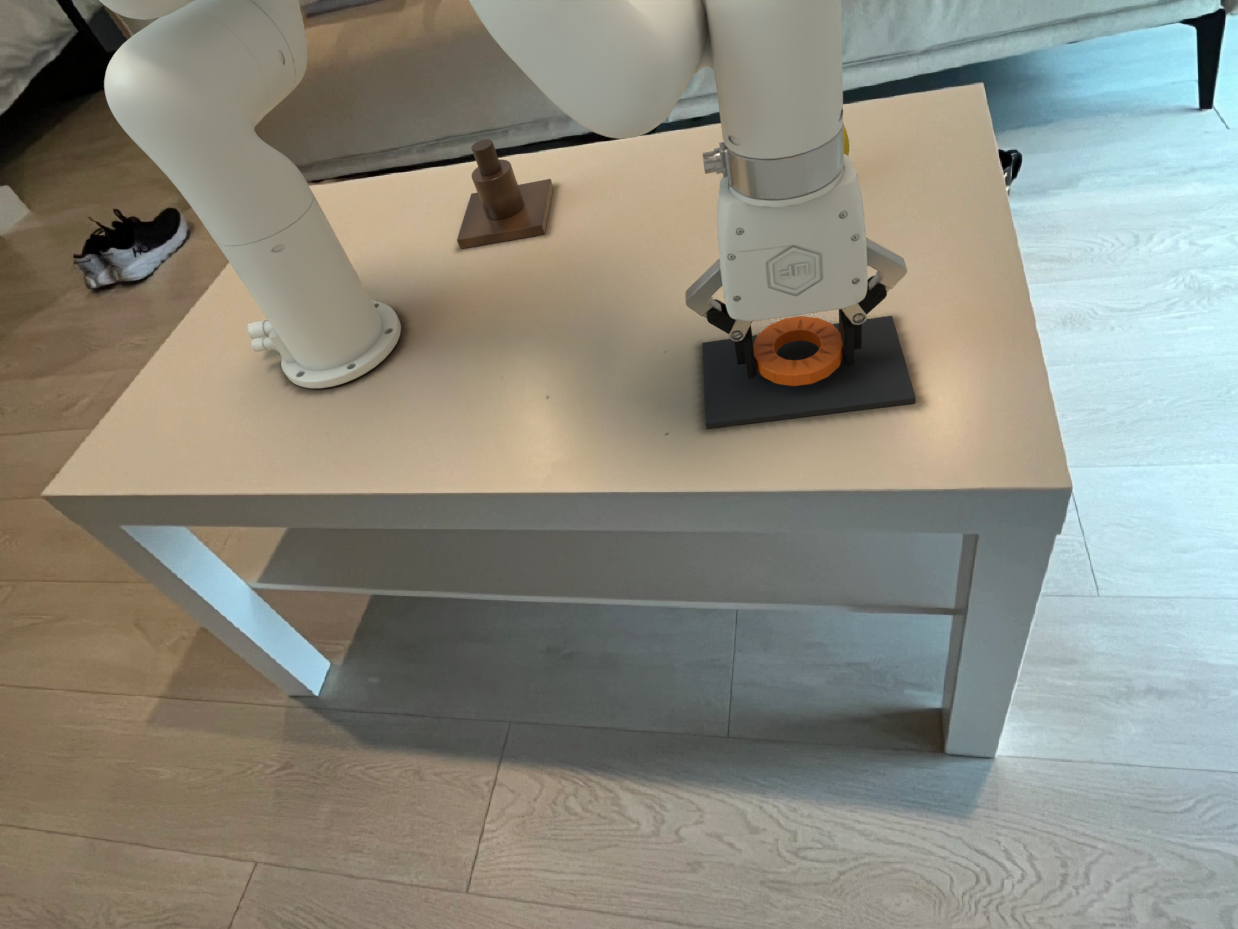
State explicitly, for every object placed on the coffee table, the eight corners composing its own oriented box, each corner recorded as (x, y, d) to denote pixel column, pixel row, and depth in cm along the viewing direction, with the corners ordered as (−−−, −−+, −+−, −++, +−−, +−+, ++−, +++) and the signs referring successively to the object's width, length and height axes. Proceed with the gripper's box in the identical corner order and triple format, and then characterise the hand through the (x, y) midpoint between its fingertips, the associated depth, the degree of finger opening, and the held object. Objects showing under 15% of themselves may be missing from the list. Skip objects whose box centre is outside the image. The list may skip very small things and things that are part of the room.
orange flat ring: (757, 391, 64) (755, 380, 63) (751, 334, 69) (750, 323, 68) (849, 379, 63) (848, 367, 62) (836, 322, 67) (836, 310, 67)
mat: (706, 429, 65) (705, 423, 65) (703, 347, 72) (702, 342, 71) (915, 403, 62) (915, 397, 62) (891, 320, 69) (892, 315, 68)
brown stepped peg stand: (460, 249, 92) (429, 176, 86) (474, 202, 99) (447, 131, 92) (544, 234, 90) (520, 158, 84) (553, 187, 97) (531, 114, 90)
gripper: (651, 209, 52) (692, 406, 65) (936, 161, 49) (920, 378, 62) (653, 152, 57) (691, 345, 70) (911, 104, 54) (901, 316, 67)
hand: (798, 359), depth 66 cm, fingers closed on orange flat ring, 7 cm apart
